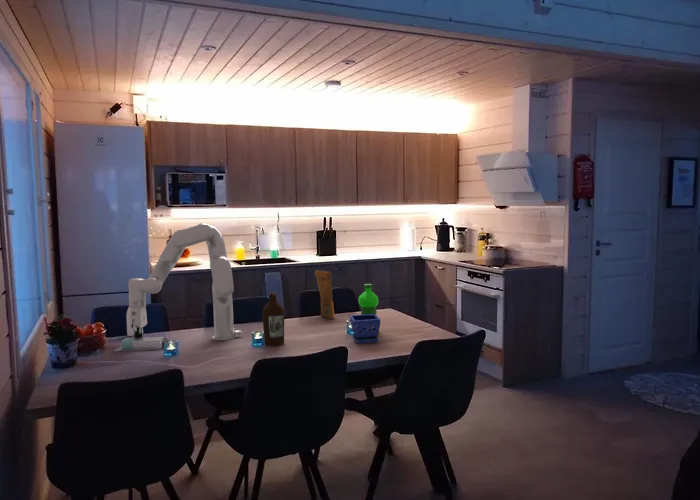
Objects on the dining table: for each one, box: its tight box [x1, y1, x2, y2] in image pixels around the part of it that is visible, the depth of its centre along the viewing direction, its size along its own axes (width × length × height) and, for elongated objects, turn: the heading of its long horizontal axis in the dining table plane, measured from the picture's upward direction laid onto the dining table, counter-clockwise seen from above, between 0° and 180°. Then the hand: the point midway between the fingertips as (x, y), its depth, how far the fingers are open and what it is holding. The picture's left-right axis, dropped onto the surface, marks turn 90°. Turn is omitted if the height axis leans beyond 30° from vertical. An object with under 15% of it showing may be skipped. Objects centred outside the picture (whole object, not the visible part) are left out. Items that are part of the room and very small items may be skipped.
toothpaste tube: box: [123, 336, 164, 347], centre depth 264 cm, size 19×3×4 cm, turn 92°
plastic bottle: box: [357, 283, 379, 328], centre depth 285 cm, size 10×10×25 cm
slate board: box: [114, 338, 182, 352], centre depth 267 cm, size 26×20×1 cm
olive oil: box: [261, 291, 285, 347], centre depth 265 cm, size 11×11×25 cm
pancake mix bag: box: [314, 269, 335, 320], centre depth 329 cm, size 7×19×28 cm, turn 25°
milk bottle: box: [126, 307, 144, 337], centre depth 292 cm, size 8×8×20 cm
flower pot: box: [349, 314, 381, 345], centre depth 266 cm, size 13×13×12 cm
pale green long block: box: [120, 336, 169, 350], centre depth 260 cm, size 21×4×5 cm, turn 92°
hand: (138, 341), depth 267 cm, fingers closed
